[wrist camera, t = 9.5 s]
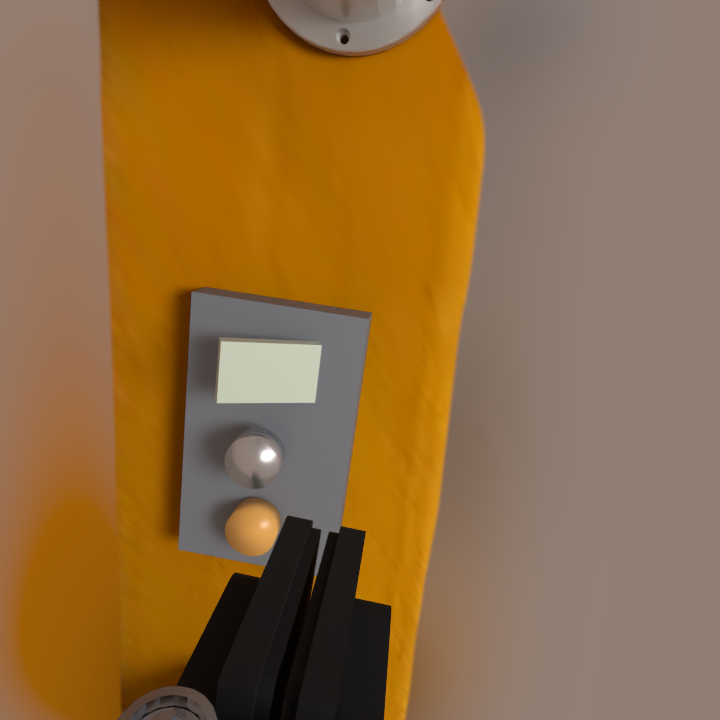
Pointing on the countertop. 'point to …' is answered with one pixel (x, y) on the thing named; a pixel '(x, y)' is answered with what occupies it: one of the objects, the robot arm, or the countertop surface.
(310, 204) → the countertop surface
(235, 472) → the button metal
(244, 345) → the block
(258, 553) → the button orange
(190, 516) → the panel
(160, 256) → the countertop surface
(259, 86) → the countertop surface
